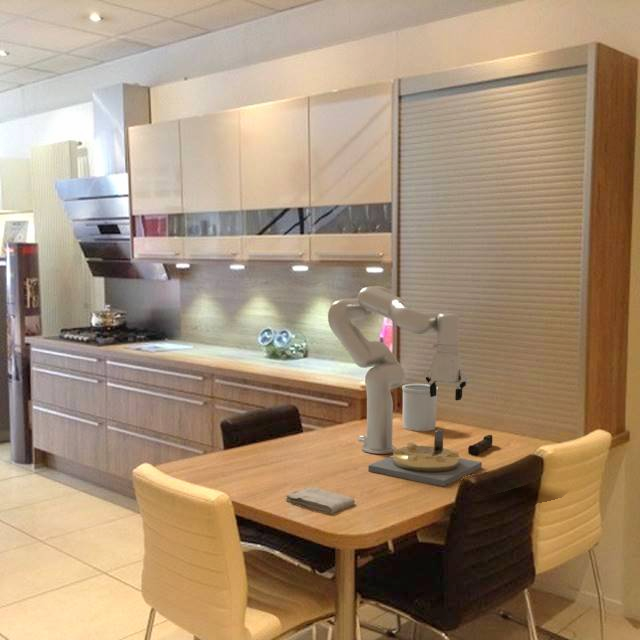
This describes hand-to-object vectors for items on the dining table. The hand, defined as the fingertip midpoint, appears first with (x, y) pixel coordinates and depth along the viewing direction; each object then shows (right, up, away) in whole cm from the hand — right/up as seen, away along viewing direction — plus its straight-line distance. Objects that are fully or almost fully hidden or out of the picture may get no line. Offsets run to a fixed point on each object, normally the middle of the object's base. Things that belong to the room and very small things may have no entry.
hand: (445, 398), depth 268 cm
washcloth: (-44, -27, -44) cm, 67 cm away
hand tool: (+17, -22, +21) cm, 34 cm away
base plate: (-8, -23, -7) cm, 26 cm away
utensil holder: (-2, -18, +57) cm, 60 cm away
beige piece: (-8, -21, -7) cm, 24 cm away
